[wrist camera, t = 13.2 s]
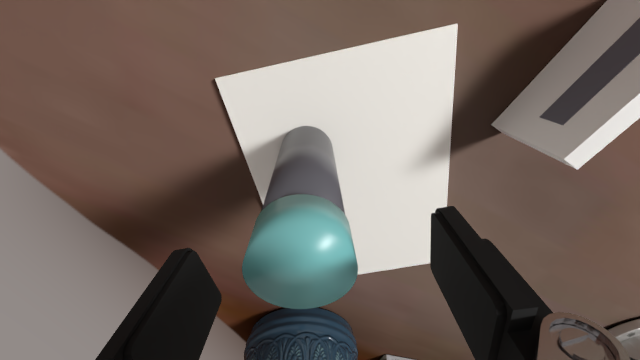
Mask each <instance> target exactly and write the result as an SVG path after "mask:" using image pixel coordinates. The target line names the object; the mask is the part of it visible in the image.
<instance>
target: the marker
mask: <svg viewBox="0 0 640 360" xmlns="http://www.w3.org/2000/svg"><path fill="white" fill-rule="evenodd" d="M242 272H243V277H244V280H245V282H246V284H247V285H248V287H249V288H250V289H251V290H252V292H254V293H255V294H256V295H257V296H258V297H260V298H261V299H263V300H265V301H267V302H269V303H271V304H274V305H277V306H280V307H285V308H291V309H310V308H316V307H321V306H324V305H327V304H330V303H332V302H334V301H336V300H338V299H339V298H341V297H342V296H344V295H345V294H346V293H347V292H348V291H349V290H350V289H351V288H352V286H353V285H354V283H355V281H356V278H357V274H358V264H357V259H356V254H355V249H354V244H353V239H352V234H351V229H350V225H349V221H348V219H347V217H346V215H345V211H344V206H343V200H342V195H341V190H340V184H339V179H338V174H337V168H336V163H335V158H334V152H333V147H332V143H331V141H330V139H329V137H328V136H327V135H326V134H325V133H324V132H323V131H322V130H320V129H318V128H316V127H312V126H300V127H297V128H295V129H293V130H291V131H290V132H289V133H288V134H287V135H286V136H285V137H284V139H283V141H282V144H281V147H280V151H279V154H278V157H277V161H276V164H275V167H274V171H273V174H272V177H271V181H270V184H269V187H268V191H267V194H266V197H265V201H264V204H263V207H262V211H261V213H260V214H259V216H258V217H257V220H256V222H255V225H254V229H253V232H252V235H251V238H250V241H249V244H248V248H247V251H246V254H245V257H244V260H243V266H242Z"/></svg>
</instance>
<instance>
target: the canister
mask: <svg viewBox="0 0 640 360" xmlns="http://www.w3.org/2000/svg"><path fill="white" fill-rule="evenodd" d="M357 358H358V350H357V344H356V340H355V337H354V336H353V332H352V329H351V327H350V325H349V324H348V322H347V321H346V320H345V319H343V318H342V317H340V316H339V315H337V314H335V313H333V312H331V311H328V310H324V309H320V308H310V309H291V308H284V309H280V310H277V311H274V312H272V313H270V314H267V315H266V316H264V317H262V318H261V319H260V320H259V321H258V322H257V323H256V324H255V325H254V326H253V328H252V331H251V334H250V336H249V338H248V340H247V343H246V348H245V352H244V360H357Z"/></svg>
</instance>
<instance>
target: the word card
mask: <svg viewBox="0 0 640 360" xmlns="http://www.w3.org/2000/svg"><path fill="white" fill-rule="evenodd" d="M639 118H640V0H607V1H606V2H605V3H604V4H603V5H602V6H601V7H600V8H599V10H598V11H597V12H596V13H595V14H594V15H593V16H592V17H591V18H590V19H589V20H588V21H587V22H586V24H585V25H584V26H583V27H582V28H581V29H580V30H579V31H578V32H577V33H576V34H575V35H574V36H573V37H572V39H571V40H570V41H569V42H568V43H567V44H566V45H565V46H564V47H563V48H562V49H561V50H560V51H559V53H558V54H557V55H556V56H555V57H554V58H553V59H552V60H551V61H550V62H549V63H548V64H547V65H546V66H545V68H544V69H543V70H542V71H541V72H540V73H539V74H538V75H537V76H536V77H535V78H534V79H533V80H532V81H531V83H530V84H529V85H528V86H527V87H526V88H525V89H524V90H523V91H522V92H521V93H520V94H519V95H518V97H517V98H516V99H515V100H514V101H513V102H512V103H511V104H510V105H509V106H508V107H507V108H506V109H505V110H504V112H503V113H502V114H501V115H500V116H499V117H498V118H497V119H496V120H495V121H494V122H493V123H492V124H491V125H492V126H493V127H495V128H496V129H497V130H499V131H500V132H502V133H503V134H505V135H507V136H510V137H512V138H514V139H516V140H518V141H520V142H522V143H524V144H526V145H528V146H530V147H532V148H534V149H536V150H538V151H540V152H542V153H544V154H546V155H548V156H550V157H552V158H555V159H557V160H559V161H561V162H563V163H565V164H567V165H569V166H571V167H573V168H575V169H577V170H578V169H579V168H580V167H581V166H582V165H584V164H585V163H586V162H587V161H588V160H590V159H591V158H592V157H593V156H594V155H596V154H597V153H598V152H599V151H600V150H602V149H603V148H604V147H605V146H606V145H608V144H609V143H610V142H611V141H612V140H614V139H615V138H616V137H617V136H618V135H620V134H621V133H622V132H623V131H624V130H626V129H627V128H628V127H629V126H630V125H632V124H633V123H634V122H635V121H636V120H638V119H639Z"/></svg>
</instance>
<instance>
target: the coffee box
mask: <svg viewBox="0 0 640 360" xmlns="http://www.w3.org/2000/svg"><path fill="white" fill-rule="evenodd" d="M380 360H414V359H409V358H403V357H398V356H393V355H387V354H386V355H384V356H383V357H382V358H381V359H380Z"/></svg>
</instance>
